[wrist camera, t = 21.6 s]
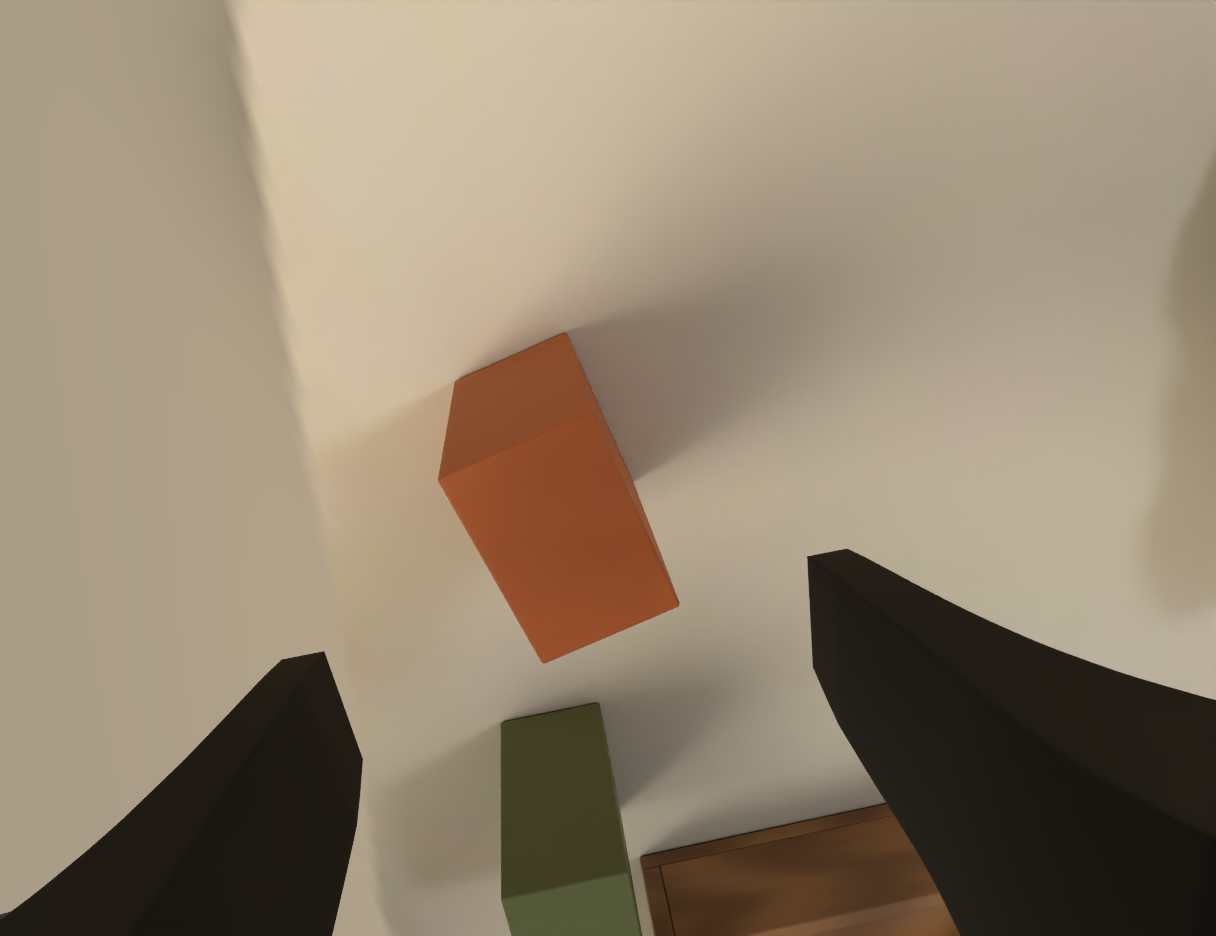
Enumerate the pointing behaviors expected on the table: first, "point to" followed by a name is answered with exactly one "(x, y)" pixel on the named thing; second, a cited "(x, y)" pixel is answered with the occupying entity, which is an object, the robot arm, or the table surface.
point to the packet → (563, 829)
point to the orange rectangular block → (551, 501)
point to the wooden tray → (799, 883)
